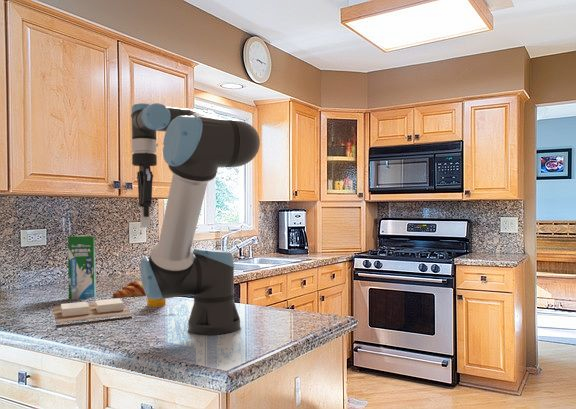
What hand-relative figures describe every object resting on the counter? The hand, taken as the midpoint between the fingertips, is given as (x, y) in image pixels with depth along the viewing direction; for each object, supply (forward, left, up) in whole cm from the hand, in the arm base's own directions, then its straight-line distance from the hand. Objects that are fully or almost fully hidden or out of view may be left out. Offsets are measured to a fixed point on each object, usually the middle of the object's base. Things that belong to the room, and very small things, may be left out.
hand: (145, 227), depth 153 cm
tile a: (+19, +20, -27) cm, 38 cm away
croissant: (+39, -5, -30) cm, 49 cm away
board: (+16, +15, -29) cm, 37 cm away
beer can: (+13, -6, -30) cm, 33 cm away
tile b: (+19, +10, -27) cm, 34 cm away
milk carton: (+47, +15, -30) cm, 58 cm away
